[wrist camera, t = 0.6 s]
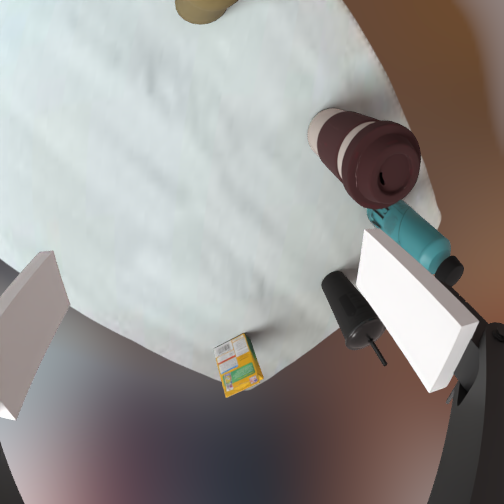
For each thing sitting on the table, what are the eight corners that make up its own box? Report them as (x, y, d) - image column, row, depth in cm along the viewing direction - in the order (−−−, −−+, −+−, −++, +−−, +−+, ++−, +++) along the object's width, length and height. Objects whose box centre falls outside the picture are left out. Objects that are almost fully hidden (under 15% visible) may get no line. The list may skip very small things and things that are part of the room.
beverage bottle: (366, 184, 47) (450, 260, 31) (396, 186, 49) (478, 255, 33) (356, 219, 51) (429, 301, 35) (386, 219, 52) (458, 293, 37)
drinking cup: (309, 297, 59) (355, 384, 44) (321, 265, 55) (378, 354, 39) (342, 295, 61) (391, 373, 46) (355, 264, 57) (414, 344, 42)
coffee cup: (365, 103, 39) (439, 136, 27) (352, 166, 44) (415, 216, 33) (301, 94, 36) (368, 122, 25) (292, 164, 42) (346, 218, 30)
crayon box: (220, 354, 63) (232, 402, 54) (212, 348, 61) (224, 398, 52) (251, 339, 62) (267, 387, 53) (244, 332, 60) (260, 381, 51)
